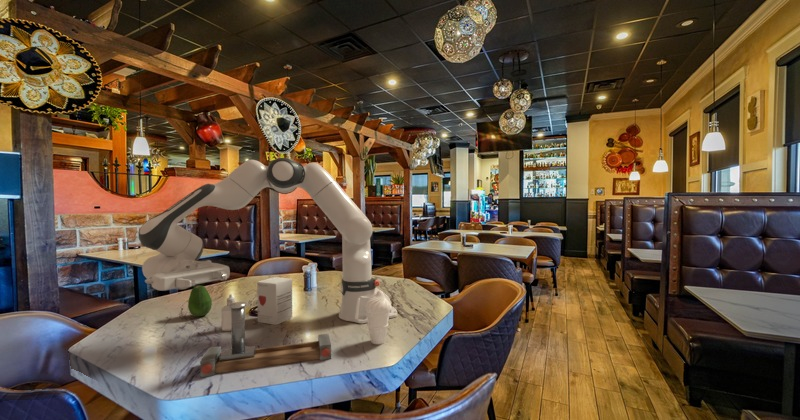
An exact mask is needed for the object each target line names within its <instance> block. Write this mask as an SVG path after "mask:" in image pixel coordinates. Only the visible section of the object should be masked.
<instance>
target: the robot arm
mask: <svg viewBox="0 0 800 420" xmlns="http://www.w3.org/2000/svg"><path fill="white" fill-rule="evenodd" d="M265 188H266V189H269V190H271V191H273V192H275V193H277V194H281V195H287V194H291V193H293V192H294V191H296V189H298V188H300V189H302V190H304V191H305V192H306V193H307V194H308V195H309V197H310V198H311V199H312V200H313V201H314V203H315V204H316V205H317V206H318V208H319V209H320V210H321V211H322V212H323V213H324V214H325V216H326V217H327V218H328V219H329V221H330V222H331V223H332V225H334V227H335V228H336V229H337V231H338V232H339V233H340V235H341V237H342V238H341V240H342V241H341V242H342V244H341V246H342V248H341V249H342V254H341V256H342V257H341V259H342V279H341V282H340V286H341V288H340V289H341V292H340V293H341V304H340V310H339V313H338V318H339V319H340V320H341V321H347V322H353V323H356V324H368V322H367V315H366V310H365V306H364V305H365V304H366V301H367V300H369V299H370V298H371V297H373V296H374V295H376V293H377V292H378V291H382V290H381V289H380V288H378V287H379V286H380V284H381V282H380V281H379V280H378V279H376V278H373V277H372V249H371V237H372V235H373V224H372V222H371V221H370V220H369V218H368V217H367V216H366V215H365V214H364V212H363V211H362V210H361V209H360V208H359V206H357V204H356V203H355V202H354V201H353V199H351V197H350V196H349V195H348V193H346V191H345V190H344V189H343V187H342V186H341V185H340V184H339V183H338V182H337V180H336V179H335V178H334V177H333V176H332V175H331V174H330V172H328V171H327V170H326V169H325V168H324V167H323V166H321V165H320V163H317V162H309V163H307V164H305V165H303V164H301V162H300V163H299V162H297V161H295V160H292V159H291V158H287V157H277V158H275V159H273V160H272V161H271V162H270V163H269V165H268V166H267V165H264V164H263V163H262V162H260V161H259V160H256V159H248V160H246V161H245V162H243V163H241V164H240V165H238V166H237V167H236V168H235V169H234V170H232V171H231V172H230V173H229V174H228V175H227V176H226V177H225V178H224V179H222V180H221V181H218V182H217V183H205V184H203V185H201V186H199V187H198V188H196V189H194V190H193V191H192V192H190V193H189V194H187V195H186V196H184V197H183V198H181V199H180V200H178V201H177V202H175V203H174V204H172V205H171V206H170V207H168V208H167V209H166V210H164V211H163V212H161V213H159V214H156V216H153V217H152V218H150V219H148V220H147V221H145V222H144V223H143V224H142V225H141V226H140V228H139V229H138V239H139V240H138V241H139V243H140V244H141V246H142V247H145V248H148V249H150V250H153V251H156V252H159V253H158V254H156V255H152V256H150V257H148V258H147V259H145V261H144V262H143V264H142V266H141V271H142V274H143V276H144V277H145V278H146V279H145V280H144V282H145V283H146V284H150V285H151V288H152V289H154V290H157V291H162V292H163V291H164V292H165V291H170V290H186V289H189V288H191V287H195V286H197V285H200V284H205V283H210V282H216V281H222V282H223V281H226V280H227V279H229V278H230V273H231V270H230V266H229V265H227V264H226V265H225V264H222V263H219V262H218V263H217V262H212V260H210V259H200V258H201V257H202V255H203V252H204V241H203V239H202V238H201V237H199V236H198V235H196V234H194V233H193V232H191V231H190V230H188V229H186V228H184V227H182V226H180V225H179V224H178V223H179V222H181V221H182V220H184V219H185V218H186V217H187V216H189V215H190V214H192V213H193V212H195V211H196V210H197V209H199V208H201V207H207V206H208V207H216V208H219V209H223V210H230V211H235V210H236V211H237V210H240V209H242V208H245V207H246V206H247V205H249V204H250V202H252V201H253V199H254V198H255V197H256V196H257V195H258V194H259V193H260V192H261V191H262V190H264V189H265ZM227 281H228V280H227ZM383 293H384V296H385V298H386V299H387V300H388V301H389V302H390V304H391V310H390V312H389V313H390V314H389V319H392V318H397V317H398V310H397V309H396V308H395V307H394V306H392V302H391V299H390V297H389V296H388V295H387V294H386V293H385V292H383Z"/></svg>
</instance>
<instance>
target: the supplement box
mask: <svg viewBox="0 0 800 420" xmlns="http://www.w3.org/2000/svg"><path fill="white" fill-rule="evenodd" d="M256 283H257V323H263V324H267V325H268V324H269V325H274V326H277V325H279V324H281V323H283V322H286V321H287V320H290V319H292V318H293V279H292V278H288V277H278V276H273V277H269V278H267V279H262V280H259V281H257V282H256Z"/></svg>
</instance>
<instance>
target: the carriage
mask: <svg viewBox="0 0 800 420" xmlns="http://www.w3.org/2000/svg"><path fill="white" fill-rule="evenodd" d="M245 307H247V302H246V301H245V302H244V301H235V303H232V304H230V305H229V308H231V328H232V330H231V348H228V349H227V348H225V349H223V350H222V351H221V353H222V354H221V356H220V362H222V361H230V360H237V359H245V358H253V357H255V354H256V349H257V347H256V345H251V346H246V323H245V322H246V320H245V319H246V315H245V313H246V312H245V309H246V308H245Z"/></svg>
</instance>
